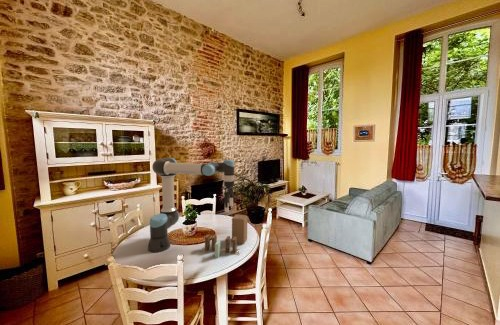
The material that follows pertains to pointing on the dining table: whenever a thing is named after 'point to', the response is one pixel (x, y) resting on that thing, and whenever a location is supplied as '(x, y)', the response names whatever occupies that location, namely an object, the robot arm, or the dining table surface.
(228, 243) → the domino
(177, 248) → the dining table surface
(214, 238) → the domino
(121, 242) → the dining table surface
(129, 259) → the dining table surface
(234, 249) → the domino
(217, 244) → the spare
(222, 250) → the runner
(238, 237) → the block
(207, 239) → the domino
